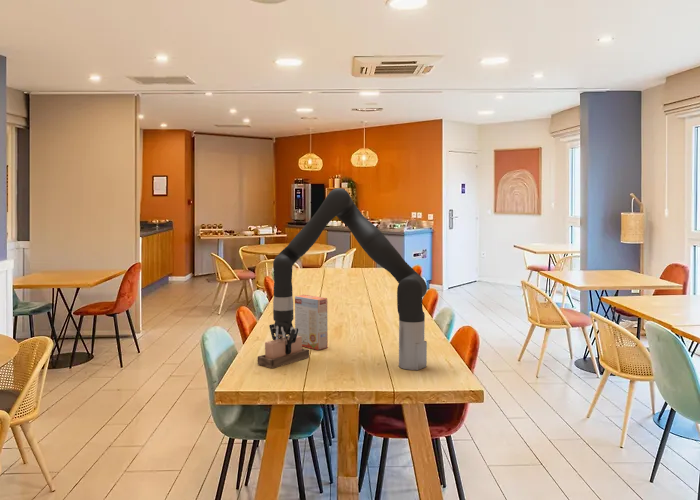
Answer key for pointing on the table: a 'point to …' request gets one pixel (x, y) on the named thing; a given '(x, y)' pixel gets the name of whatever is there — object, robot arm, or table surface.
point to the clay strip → (281, 347)
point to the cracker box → (312, 321)
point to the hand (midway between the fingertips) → (283, 352)
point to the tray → (283, 359)
